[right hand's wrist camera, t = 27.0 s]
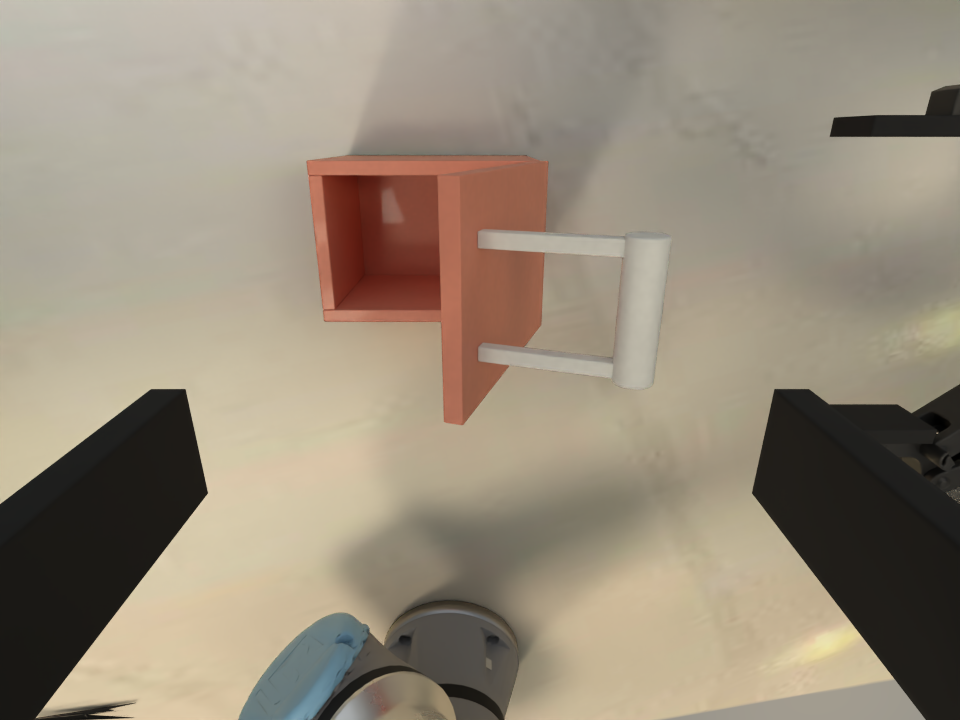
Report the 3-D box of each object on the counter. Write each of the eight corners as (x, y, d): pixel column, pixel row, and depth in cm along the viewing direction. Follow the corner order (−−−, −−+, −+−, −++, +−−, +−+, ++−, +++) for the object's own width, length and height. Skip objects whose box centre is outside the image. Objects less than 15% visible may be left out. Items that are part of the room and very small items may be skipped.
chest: (357, 282, 48) (323, 322, 37) (347, 155, 44) (305, 160, 33) (522, 282, 48) (534, 322, 37) (526, 155, 44) (540, 160, 33)
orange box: (443, 422, 24) (643, 456, 22) (437, 174, 20) (679, 180, 18) (528, 323, 37) (659, 337, 34) (533, 160, 33) (682, 162, 31)
